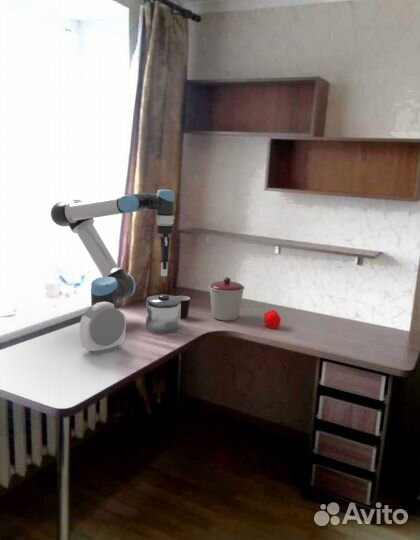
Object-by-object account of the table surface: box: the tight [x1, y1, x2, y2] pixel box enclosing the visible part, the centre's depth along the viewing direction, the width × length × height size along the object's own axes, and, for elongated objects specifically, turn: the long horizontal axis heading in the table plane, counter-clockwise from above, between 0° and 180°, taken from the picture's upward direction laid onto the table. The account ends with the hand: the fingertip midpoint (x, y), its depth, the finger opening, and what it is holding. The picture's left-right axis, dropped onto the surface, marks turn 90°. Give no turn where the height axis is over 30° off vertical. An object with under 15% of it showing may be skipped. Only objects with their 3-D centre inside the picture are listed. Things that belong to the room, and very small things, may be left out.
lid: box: [145, 294, 181, 307], centre depth 234 cm, size 16×16×3 cm
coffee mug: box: [176, 295, 191, 320], centre depth 255 cm, size 12×9×10 cm
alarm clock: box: [79, 301, 127, 356], centre depth 205 cm, size 18×8×20 cm, turn 133°
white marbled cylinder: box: [145, 302, 181, 335], centre depth 236 cm, size 16×18×12 cm
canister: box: [208, 277, 246, 322], centre depth 254 cm, size 18×18×21 cm
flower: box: [263, 309, 282, 329], centre depth 244 cm, size 8×8×8 cm
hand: (164, 275), depth 232 cm, fingers closed
